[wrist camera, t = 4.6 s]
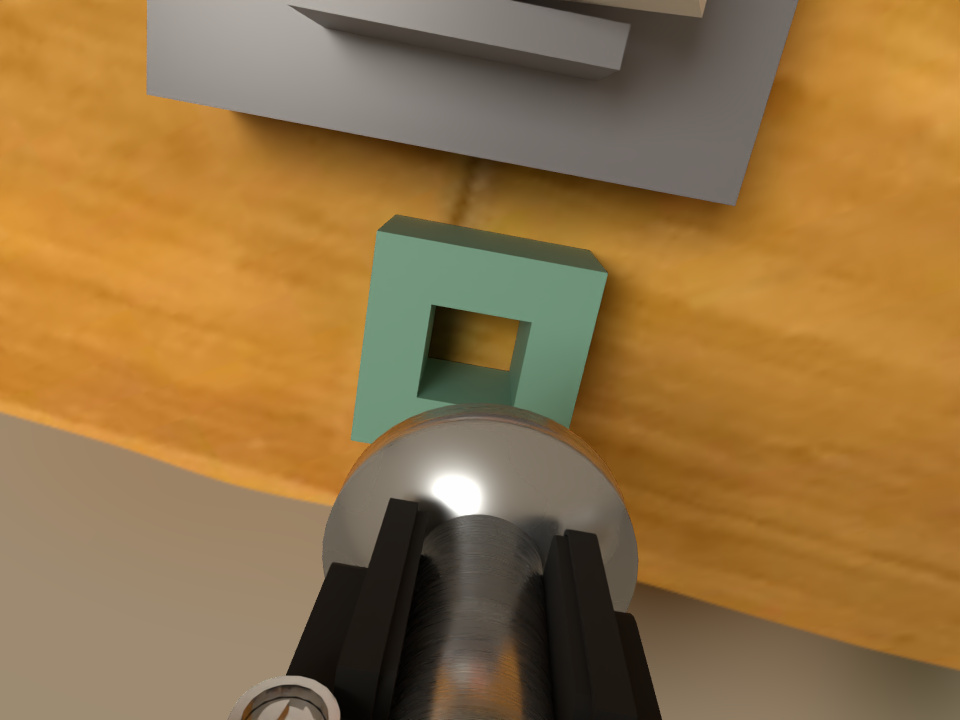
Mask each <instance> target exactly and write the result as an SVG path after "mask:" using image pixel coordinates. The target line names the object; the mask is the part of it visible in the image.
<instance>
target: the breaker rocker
mask: <svg viewBox="0 0 960 720" xmlns="http://www.w3.org/2000/svg"><path fill="white" fill-rule="evenodd" d="M564 1H572V2H580V3H588V4H596V5H604V6H612V7H620V8H628V9H636V10H644V11H652V12H660V13H668V14H676V15H684V16H692V17H700V18H702V16H703V13H704V9H705V5H706V1H707V0H564Z"/></svg>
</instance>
